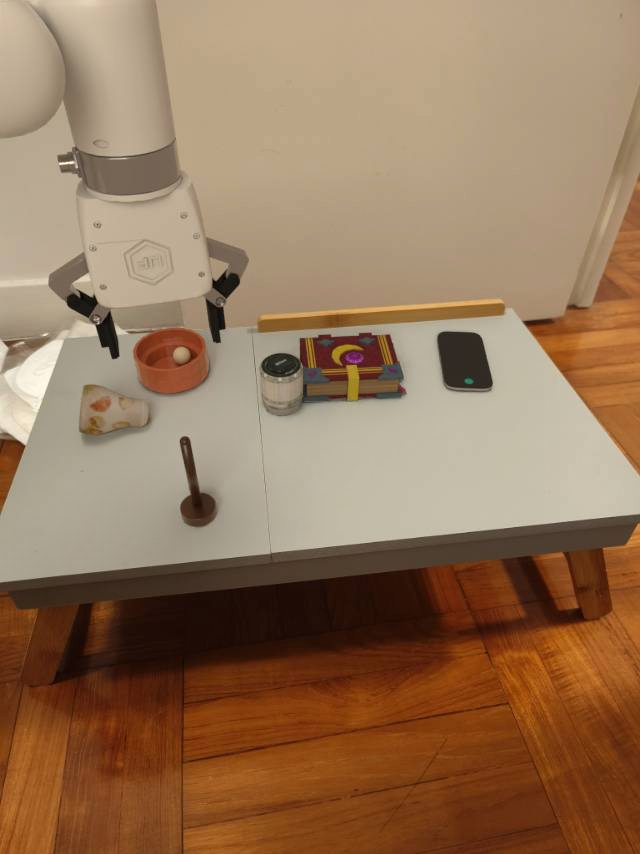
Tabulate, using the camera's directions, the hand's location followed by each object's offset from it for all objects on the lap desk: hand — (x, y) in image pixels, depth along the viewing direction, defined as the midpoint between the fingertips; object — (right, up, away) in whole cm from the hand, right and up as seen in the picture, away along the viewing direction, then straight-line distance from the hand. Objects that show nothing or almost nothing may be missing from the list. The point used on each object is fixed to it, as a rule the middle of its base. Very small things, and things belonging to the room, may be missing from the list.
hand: (166, 342), depth 60 cm
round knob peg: (0, -19, +18) cm, 26 cm away
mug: (-14, -8, +30) cm, 34 cm away
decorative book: (+20, -1, +38) cm, 43 cm away
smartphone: (+39, +2, +41) cm, 56 cm away
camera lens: (+9, -5, +34) cm, 35 cm away
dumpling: (-7, +3, +38) cm, 39 cm away
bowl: (-8, 0, +38) cm, 39 cm away
